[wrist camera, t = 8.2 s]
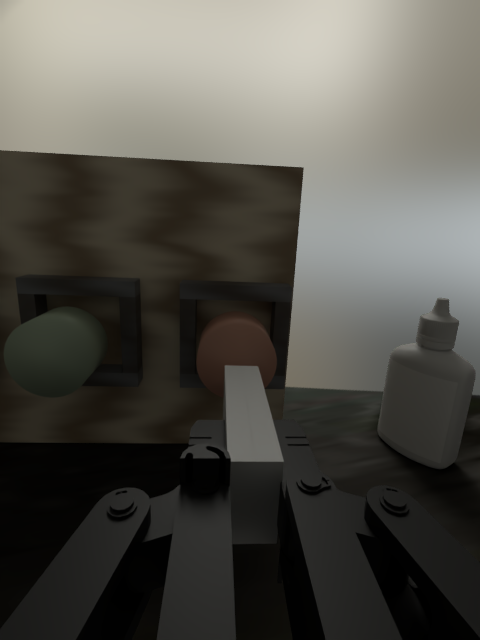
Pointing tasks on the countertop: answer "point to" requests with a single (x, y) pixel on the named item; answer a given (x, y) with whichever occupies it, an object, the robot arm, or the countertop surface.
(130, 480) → the countertop surface
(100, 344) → the sage button
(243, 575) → the countertop surface
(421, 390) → the eye dropper bottle
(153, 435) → the button panel
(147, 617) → the countertop surface
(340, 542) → the robot arm
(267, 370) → the terracotta button
